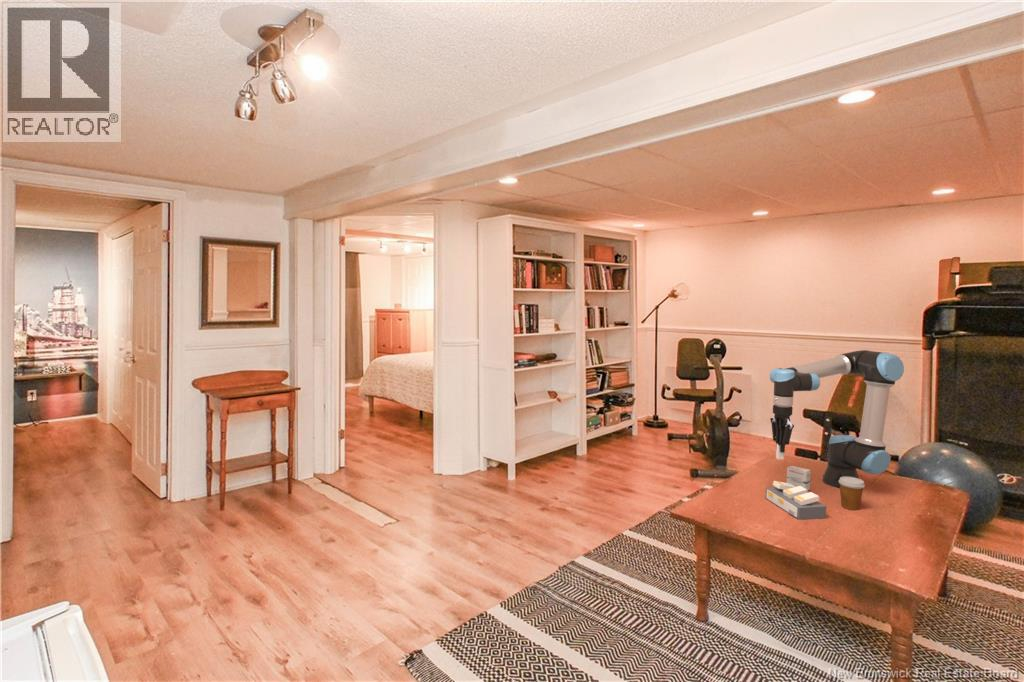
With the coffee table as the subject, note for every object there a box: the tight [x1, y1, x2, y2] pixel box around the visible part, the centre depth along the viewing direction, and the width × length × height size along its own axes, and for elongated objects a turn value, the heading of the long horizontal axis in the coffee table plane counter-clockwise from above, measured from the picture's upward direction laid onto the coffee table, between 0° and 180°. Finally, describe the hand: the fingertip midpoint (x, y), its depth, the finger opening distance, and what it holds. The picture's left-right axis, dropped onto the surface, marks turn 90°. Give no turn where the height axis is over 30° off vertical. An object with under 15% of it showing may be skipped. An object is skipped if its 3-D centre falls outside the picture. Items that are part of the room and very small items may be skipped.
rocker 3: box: [794, 491, 820, 506], centre depth 218 cm, size 8×4×2 cm, turn 97°
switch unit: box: [765, 486, 827, 521], centre depth 225 cm, size 13×22×6 cm, turn 8°
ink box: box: [785, 465, 812, 493], centre depth 241 cm, size 8×5×12 cm, turn 39°
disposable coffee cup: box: [839, 477, 866, 511], centre depth 226 cm, size 10×10×12 cm
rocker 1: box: [772, 480, 795, 490], centre depth 232 cm, size 8×4×2 cm, turn 99°
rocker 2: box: [783, 486, 808, 499], centre depth 225 cm, size 8×4×2 cm, turn 97°
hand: (779, 458), depth 230 cm, fingers closed
